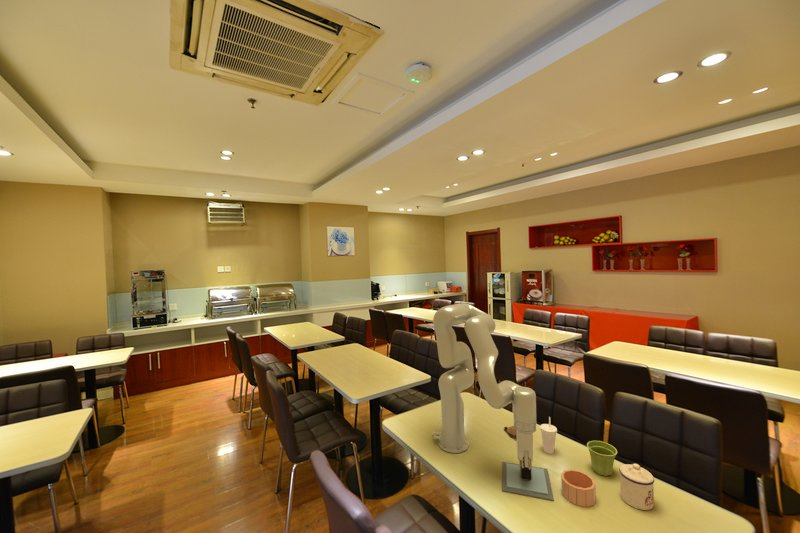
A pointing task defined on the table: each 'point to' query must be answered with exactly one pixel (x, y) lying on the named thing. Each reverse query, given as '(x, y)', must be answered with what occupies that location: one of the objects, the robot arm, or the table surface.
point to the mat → (524, 493)
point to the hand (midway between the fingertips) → (525, 473)
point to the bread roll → (511, 432)
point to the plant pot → (602, 457)
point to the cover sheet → (525, 485)
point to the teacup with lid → (637, 486)
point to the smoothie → (548, 437)
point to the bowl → (578, 488)
